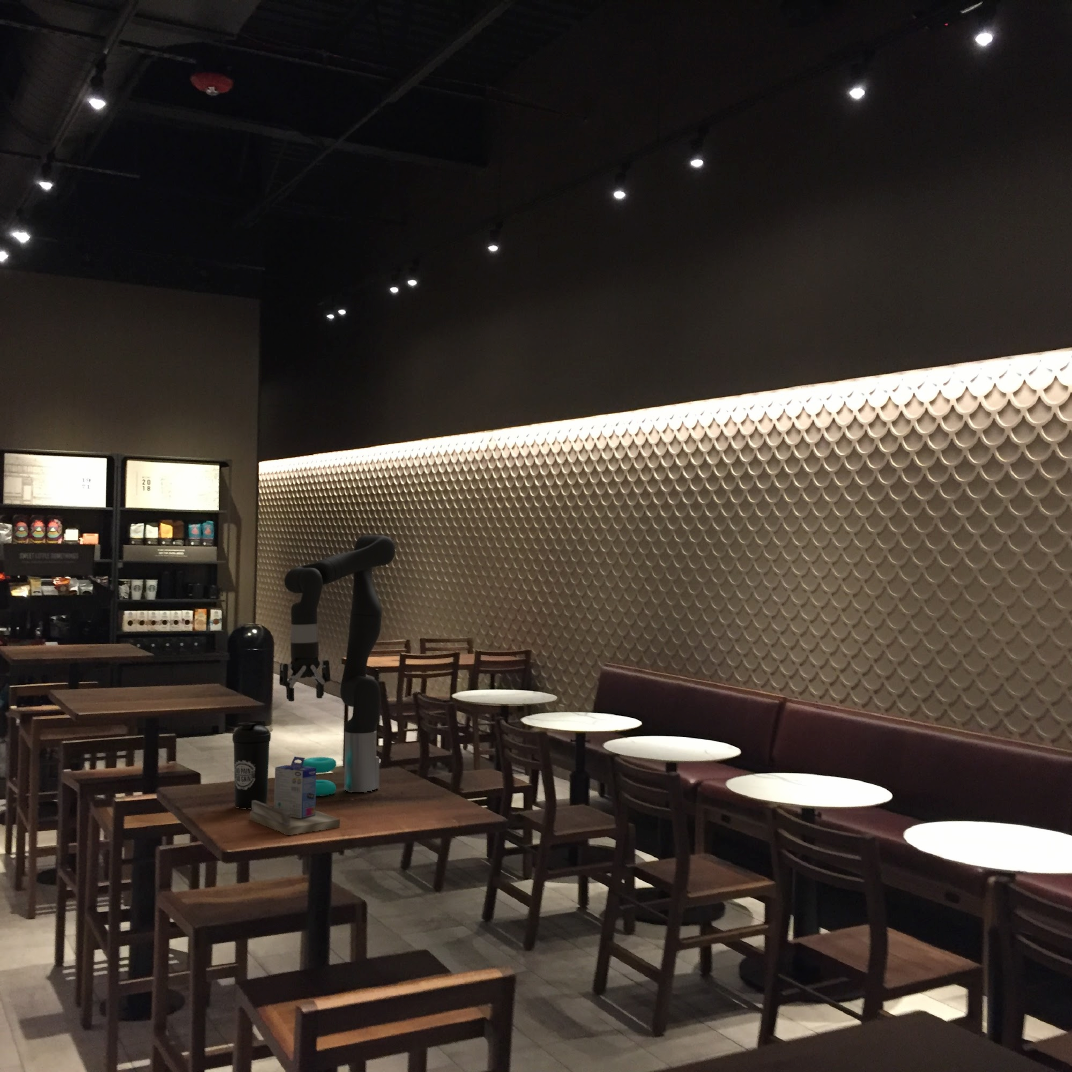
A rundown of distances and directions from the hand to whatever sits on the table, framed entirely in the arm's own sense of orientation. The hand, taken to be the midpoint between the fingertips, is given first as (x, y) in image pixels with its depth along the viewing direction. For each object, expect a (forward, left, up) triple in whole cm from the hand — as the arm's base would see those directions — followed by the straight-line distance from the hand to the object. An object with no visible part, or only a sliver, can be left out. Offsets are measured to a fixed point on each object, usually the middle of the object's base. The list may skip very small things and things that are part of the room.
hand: (305, 699), depth 294 cm
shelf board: (+11, +17, -29) cm, 35 cm away
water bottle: (+11, -9, -29) cm, 33 cm away
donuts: (-11, -12, -29) cm, 34 cm away
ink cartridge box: (+11, +16, -27) cm, 34 cm away
